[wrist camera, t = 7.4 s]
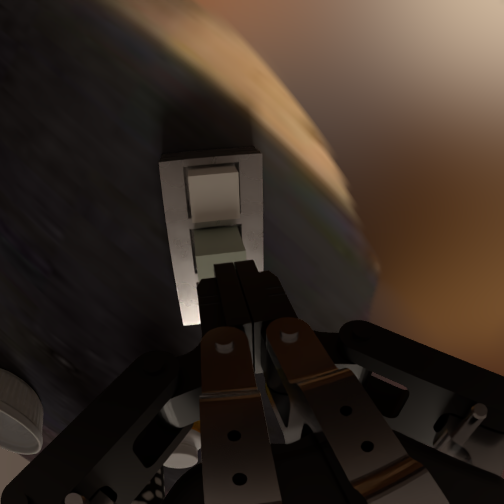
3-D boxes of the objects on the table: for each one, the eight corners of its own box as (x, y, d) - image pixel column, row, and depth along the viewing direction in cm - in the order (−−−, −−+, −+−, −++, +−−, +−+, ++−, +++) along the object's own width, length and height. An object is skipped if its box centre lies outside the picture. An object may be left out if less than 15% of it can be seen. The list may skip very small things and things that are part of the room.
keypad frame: (183, 304, 30) (183, 325, 27) (162, 154, 23) (158, 162, 20) (256, 295, 31) (263, 315, 28) (253, 146, 24) (262, 153, 21)
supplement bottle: (148, 371, 33) (146, 449, 24) (197, 370, 34) (205, 448, 26) (153, 399, 36) (154, 471, 27) (198, 398, 37) (206, 470, 28)
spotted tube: (139, 425, 38) (143, 557, 21) (172, 448, 42) (185, 563, 25) (98, 436, 38) (93, 555, 21) (132, 457, 43) (136, 564, 25)
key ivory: (191, 203, 25) (192, 223, 21) (187, 163, 23) (187, 176, 20) (232, 199, 25) (240, 218, 22) (230, 159, 24) (238, 172, 20)
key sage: (198, 267, 25) (200, 297, 22) (193, 230, 24) (195, 256, 20) (238, 262, 26) (247, 291, 22) (236, 225, 24) (245, 250, 21)
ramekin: (43, 374, 31) (30, 418, 25) (56, 426, 36) (49, 464, 30) (-39, 346, 27) (-58, 384, 21) (-16, 403, 32) (-27, 437, 26)
